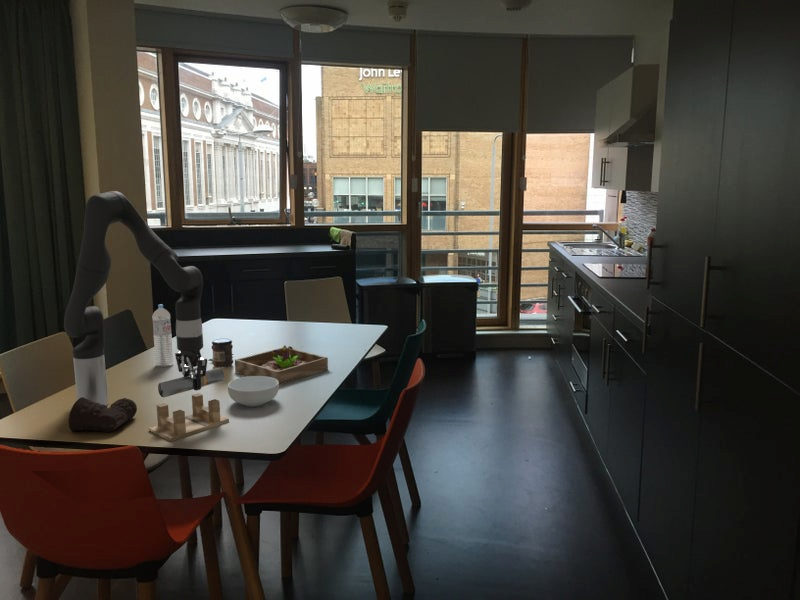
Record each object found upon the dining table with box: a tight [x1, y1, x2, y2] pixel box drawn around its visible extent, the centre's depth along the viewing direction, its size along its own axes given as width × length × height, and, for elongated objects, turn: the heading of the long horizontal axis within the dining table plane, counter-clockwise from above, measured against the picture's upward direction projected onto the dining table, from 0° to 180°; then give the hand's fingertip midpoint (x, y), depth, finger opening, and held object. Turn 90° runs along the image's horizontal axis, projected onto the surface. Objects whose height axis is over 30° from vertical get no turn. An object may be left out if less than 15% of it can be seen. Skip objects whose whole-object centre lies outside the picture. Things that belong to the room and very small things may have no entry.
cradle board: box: [148, 392, 230, 442], centre depth 195 cm, size 12×20×8 cm, turn 141°
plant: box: [262, 345, 309, 371], centre depth 252 cm, size 20×20×11 cm
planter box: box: [234, 346, 329, 386], centre depth 253 cm, size 26×26×5 cm
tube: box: [157, 367, 225, 398], centre depth 195 cm, size 20×4×4 cm, turn 140°
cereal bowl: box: [227, 376, 280, 408], centre depth 217 cm, size 17×17×7 cm
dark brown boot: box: [68, 397, 138, 433], centre depth 196 cm, size 10×15×15 cm
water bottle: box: [151, 303, 174, 368], centre depth 259 cm, size 7×7×25 cm
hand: (192, 387), depth 195 cm, fingers closed on tube, 4 cm apart
